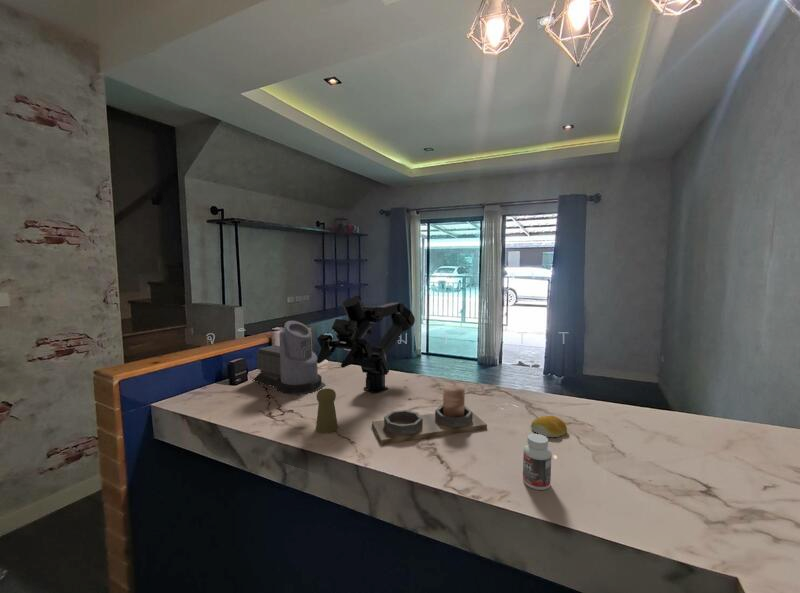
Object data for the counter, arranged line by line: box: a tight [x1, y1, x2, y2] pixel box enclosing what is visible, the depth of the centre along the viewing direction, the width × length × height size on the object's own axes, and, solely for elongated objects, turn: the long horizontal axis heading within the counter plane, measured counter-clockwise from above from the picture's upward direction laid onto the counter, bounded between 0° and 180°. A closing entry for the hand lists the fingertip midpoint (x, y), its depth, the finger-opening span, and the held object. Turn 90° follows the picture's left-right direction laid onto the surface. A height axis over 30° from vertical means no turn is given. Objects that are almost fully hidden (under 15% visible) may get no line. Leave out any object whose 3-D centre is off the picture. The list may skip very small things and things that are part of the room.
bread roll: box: [530, 415, 568, 438], centre depth 98 cm, size 8×9×4 cm
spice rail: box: [371, 384, 488, 445], centre depth 100 cm, size 30×11×10 cm, turn 107°
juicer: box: [252, 320, 326, 396], centre depth 136 cm, size 30×16×24 cm, turn 57°
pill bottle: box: [522, 433, 552, 491], centre depth 74 cm, size 5×5×10 cm
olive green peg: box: [315, 388, 339, 435], centre depth 99 cm, size 6×6×11 cm
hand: (329, 364), depth 107 cm, fingers open, 9 cm apart
